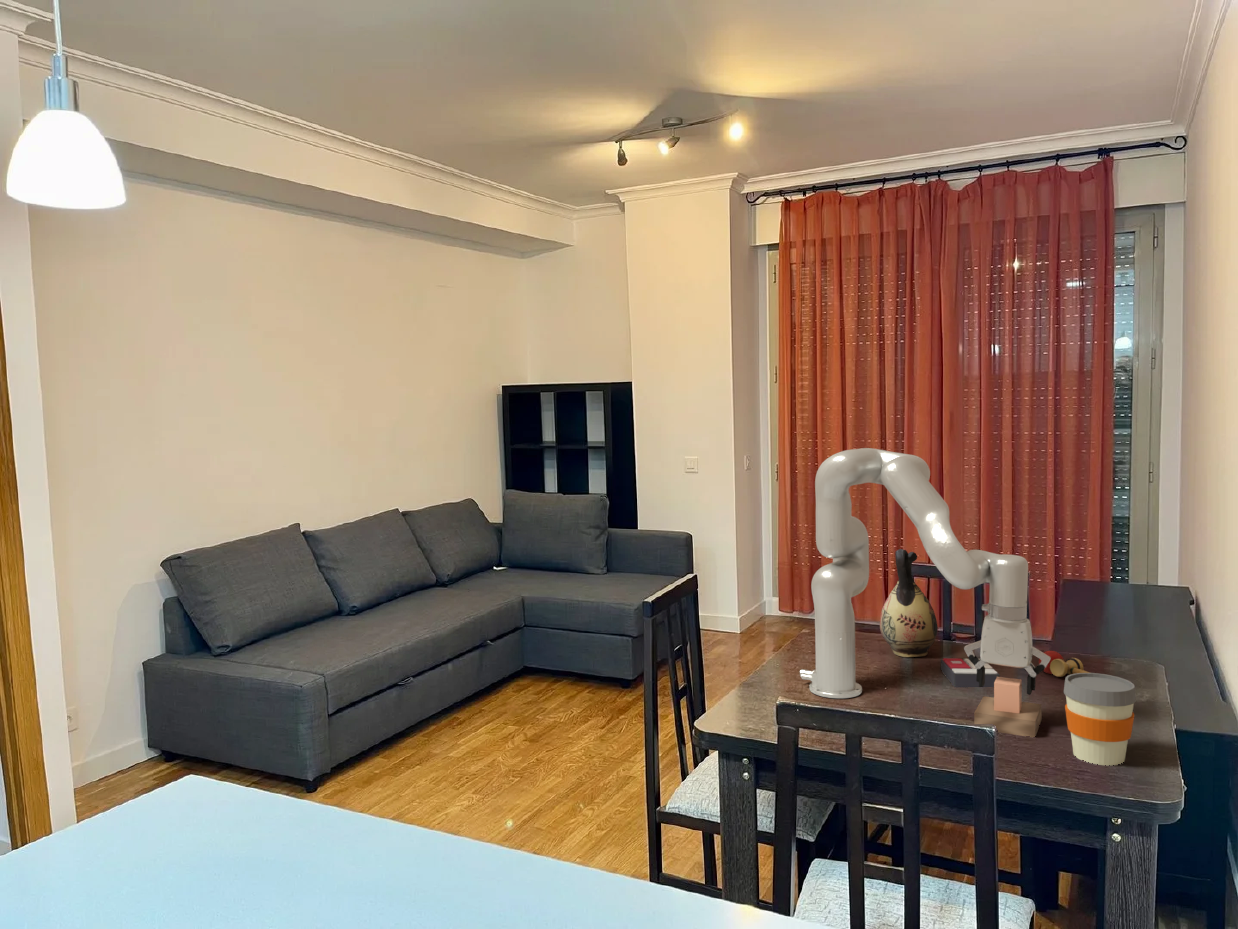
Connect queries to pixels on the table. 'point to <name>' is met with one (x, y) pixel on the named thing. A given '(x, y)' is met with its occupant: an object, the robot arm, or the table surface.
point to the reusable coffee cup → (1099, 716)
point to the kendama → (1062, 665)
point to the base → (1010, 718)
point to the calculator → (966, 673)
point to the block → (1008, 694)
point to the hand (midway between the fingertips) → (1005, 689)
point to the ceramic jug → (908, 613)
